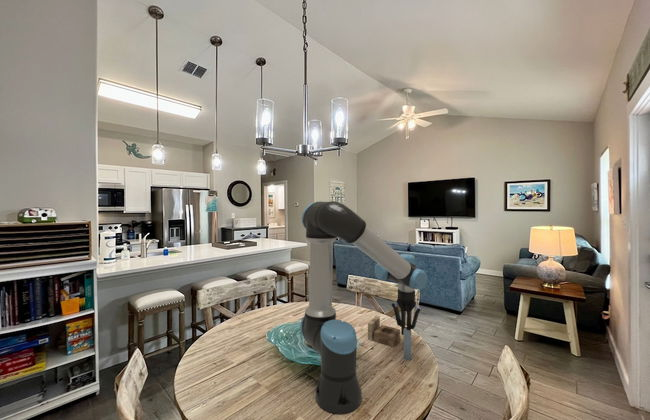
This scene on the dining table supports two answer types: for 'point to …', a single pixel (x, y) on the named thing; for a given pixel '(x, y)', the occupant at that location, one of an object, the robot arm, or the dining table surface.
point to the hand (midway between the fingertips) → (406, 342)
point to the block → (387, 335)
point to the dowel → (407, 344)
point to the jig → (373, 327)
